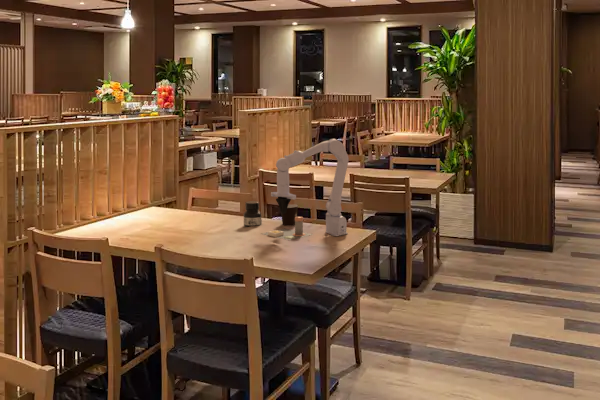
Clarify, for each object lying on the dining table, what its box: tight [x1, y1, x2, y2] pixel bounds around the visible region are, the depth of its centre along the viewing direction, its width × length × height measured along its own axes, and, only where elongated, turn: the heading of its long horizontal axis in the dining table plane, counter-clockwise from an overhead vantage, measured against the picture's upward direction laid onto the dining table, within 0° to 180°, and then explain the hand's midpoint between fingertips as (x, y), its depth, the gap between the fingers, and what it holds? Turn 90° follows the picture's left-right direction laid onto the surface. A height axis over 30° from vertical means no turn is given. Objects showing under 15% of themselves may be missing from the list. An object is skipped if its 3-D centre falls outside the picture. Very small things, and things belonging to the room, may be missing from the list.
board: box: [261, 227, 314, 241], centre depth 296 cm, size 19×16×2 cm
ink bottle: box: [243, 200, 263, 228], centre depth 317 cm, size 10×9×12 cm
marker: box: [294, 216, 304, 235], centre depth 294 cm, size 4×4×8 cm
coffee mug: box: [281, 204, 299, 227], centre depth 319 cm, size 12×9×10 cm
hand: (283, 213), depth 296 cm, fingers closed
